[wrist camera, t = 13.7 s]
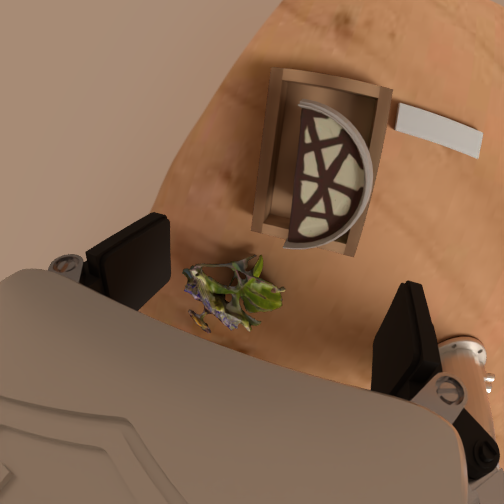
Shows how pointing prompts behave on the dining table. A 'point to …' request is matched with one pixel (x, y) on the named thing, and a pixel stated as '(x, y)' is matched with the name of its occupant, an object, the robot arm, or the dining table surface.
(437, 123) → the plank
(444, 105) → the dining table surface
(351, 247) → the wooden tray
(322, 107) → the food container
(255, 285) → the passion flower
